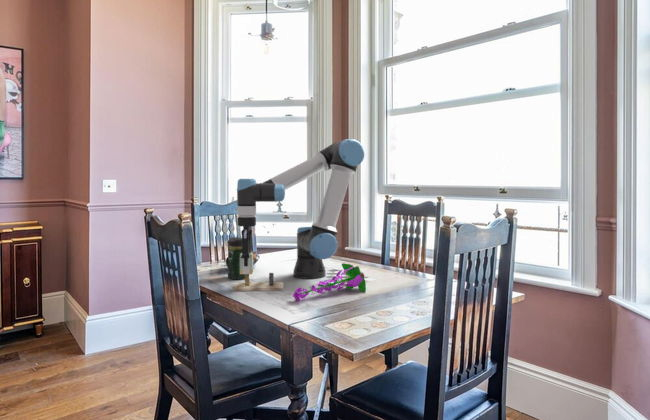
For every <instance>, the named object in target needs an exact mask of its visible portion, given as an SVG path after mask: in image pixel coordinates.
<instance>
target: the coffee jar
mask: <svg viewBox="0 0 650 420" xmlns="http://www.w3.org/2000/svg"><path fill="white" fill-rule="evenodd" d="M241 253H242V237H237V236H236V237H230V238H228V240H227V257H228V268H227V277H228V278H229V279H232V280H245V274H240V254H241Z"/></svg>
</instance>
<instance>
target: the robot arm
mask: <svg viewBox="0 0 650 420" xmlns="http://www.w3.org/2000/svg"><path fill="white" fill-rule="evenodd" d="M364 159H365V148H364V147H363V145H362V143H361V142H359V141H358V140H356V139H354V138H353V139H352V138H348V139H347V138H346V139H343V140H337V141H335V142H333V143H332V144H330V145H328V146H326V147H325V148H324V149H321V150H320V151H318V152H316V155H315V156H313V157H311V158H309V159H307V160H304V161H303V162H300V163H299V164H297V165H294V166H293V167H291V168H288V169H287V170H285V171H283V172H281V173H279V174H277V175H275V176H273V177H270V178H269V179H267V180H266V181H263V182H260V183H257V182H256V180H257V179H256V178H239V179H238V180H237V186H236V195H237V196H236V199H237V202H236V204H237V208H235V211H237V216H238V217H237V220H236V221H237V222H236V223H237V227H242V230H241V238H242V257H241V258H243V274H249V275H251V274H250V258H249V253H251V251H252V234H253V231H252V229H251V227H255V226H256V225H257V218H256V216H257V202H258V203H259V202H260V203H261V202H262V203H263V202H264V203H265V202H267V203H268V202H273V203H274V202H276V203H277V202H283V201H284V200H285V195H286V190H288V189H289V188H292V187H293V186H295V185H298V184H299V183H301V182H303V181H305V180H307V179H309V178H311V177H313V176H316V174H317V175H318V174H319V173H320V172H322V171H325V172H328V171H330V170H332V171H331V174H330V177H329V180H328V184H327V187H326V191H325V194H324V197H323V200H322V204H321V207H320V211H319V213H318V217H317V220H316V222H314V223H313V224H312V225H311V226H300V227H298V228H297V233H296V236H297V237H296V242H297V243H296V245H297V246H296V247H297V248H296V255H297V256H296V257H297V258H296V261H295V265H294V267H293V270H292V271H293V274H292V275H293V276H294V277H295V278H299V279H319V278H323V277H326V268H325V265H324V262H323V260H327V259H330V258H331V257H332V256H334V254H336V253H337V250H338V241H337V235H338V230H337V228H336V227H337V223H338V220H339V216H340V213H341V210H342V206H343V203H344V200H345V197H346V193H347V191H348V187H349V183H350V181H351V176H353V175H354V174H356V173H357V172H356V171H357V169H358V166H359V165H360V164H361V163H362V162H363V161H364Z"/></svg>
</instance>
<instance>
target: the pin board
mask: <svg viewBox="0 0 650 420" xmlns="http://www.w3.org/2000/svg"><path fill="white" fill-rule="evenodd" d="M268 277H269V278H268V282H267V281H266V282H265V281H262V282H259V281H258V282H255V281H254V282H250V274H245V278H244V282H235V285H234V286H233V289H232V291H233V292H256V291H257V292H258V291H260V292H262V291H263V292H264V291H265V292H266V291H267V292H268V291H270V292H271V291H284V281H275V279H274V272H269V273H268Z"/></svg>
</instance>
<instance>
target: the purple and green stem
mask: <svg viewBox="0 0 650 420" xmlns="http://www.w3.org/2000/svg"><path fill="white" fill-rule="evenodd" d="M341 267H342V269H340V270H339V271H338V272H337V273H336V275H334V276H333V277H332V278H331V279H328V280H321V281H318V283H317V284H316V285H314V284H313V285H310V289H306V288H305V289H304V288H302V287H301V286H299V287H298V288H296V290H294V293H292V297H293V298H294V300H295V301H296V302H300V301H301V299H302V300H303V299H305V298H307V296H309V295H310V296H312V295H314V294H316V293H317V294H326V291H327V292H330V293H331V292H332V289H333V290H337V291H340V290H342V289H343V288H344V286H346V287H345V288H346V289H353V288H358V290H359V291H361V292H363V293H366V292H367V288H366V284H367V283H366V280H365V274H364V272H362V271H361V269H360V266H357V265H356V266H354V265H353V264H351V263H341ZM343 275H346V276H348V277H347V278H343V277H344V276H343ZM317 286H318V287H317ZM311 292H313V293H311ZM310 293H311V294H310Z"/></svg>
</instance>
